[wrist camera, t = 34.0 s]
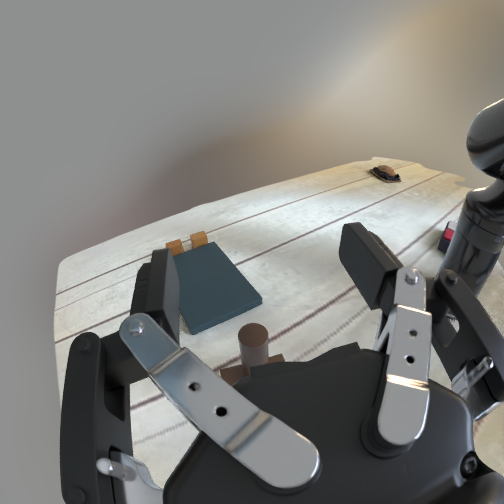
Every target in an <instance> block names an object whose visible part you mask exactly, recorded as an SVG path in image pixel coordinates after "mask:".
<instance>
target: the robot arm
mask: <svg viewBox="0 0 504 504" xmlns="http://www.w3.org/2000/svg"><path fill="white" fill-rule="evenodd" d="M466 144H467V151H468V155H469V158H470V160H471V161H472V163H473V164H474V166H475V167H476V168H477V169H479V170H480V171H481V172H483V173H484V174H486V175H489V176H491V177H494V178H497V179H496V181H495V182H494V183H493V184H491V185H489V186H487V187H484V188H479V189H473V190H470V191H469V192H468V193H467V195H466V197H465V200H464V204H463V207H462V210H461V213H460V216H459V219H458V222H457V225H456V228H455V231H454V234H453V237H452V239H451V242H450V244H449V247H448V249H447V252H446V254H445V257H444V259H443V262H442V264H441V266H440V268H439V271H438V273H437V275H436V277H435V278H425V277H424V276H423V274H422V273H421V272H420V271H418V270H417V269H414V268H412V267H404V266H403V264H402V263H401V262H400V261H399V260H398V258H397V257H396V256H395V255H394V254H393V252H392V251H391V250H389V248H388V247H387V246H386V244H384V242H383V241H382V240H381V239H380V238H379V237H378V236H377V235H375V234H374V233H372V232H371V231H367V229H366V228H365V227H364V226H363V225H362V224H361V223H360V222H356V223H348V224H344V226H343V229H342V235H341V241H340V247H339V258H340V261H341V263H342V264H343V266H344V268H345V269H346V271H347V272H348V274H349V275H350V277H351V278H352V280H353V282H354V283H355V285H356V286H357V288H358V290H359V291H360V293H361V294H362V296H363V298H364V299H365V301H366V302H367V304H368V306H369V307H370V309H371V310H375V309H378V308H381V310H382V312H381V314H380V319H379V324H378V329H377V334H376V338H375V343H374V347H373V350H370V349H360V347H359V345H358V343H357V342H354V343H351V344H347V345H344V346H340V347H337V348H333V349H331V350H329V351H328V352H326V353H324V354H322V355H320V356H318V357H316V358H314V359H313V360H311V361H307V362H273V363H268V364H263V365H258V366H252V367H249V369H250V375H248V376H246V377H244V378H242V379H240V380H238V381H237V382H236V383H234V384H233V385H232V386H230V385H229V384H228V383H226V382H225V381H224V380H223V379H222V378H221V377H219V376H218V375H217V374H216V373H215V372H214V371H212V370H211V369H210V368H209V367H208V366H207V365H206V364H205V363H203V362H202V361H201V360H200V359H199V358H198V357H197V356H196V355H195V354H194V353H192V352H191V351H190V350H189V349H188V348H186V347H184V348H181V347H180V343H179V291H180V287H179V278H178V274H177V270H176V267H175V263H174V260H173V256H172V252H171V250H170V248H166V249H159V250H154V251H153V253H152V259H151V262H150V263H144V264H143V265H142V266H141V268H140V269H139V271H138V273H137V278H136V283H135V290H134V293H133V299H132V305H131V311H130V316H129V317H127V318H126V319H125V320H124V321H123V322H122V323H121V325H120V328H119V331H117V332H115V333H113V334H110V335H108V336H105V337H103V338H99V337H98V336H97V335H96V334H95V333H93V332H85V333H82V334H80V335H79V336H77V337H76V338H75V339H74V340H73V342H72V344H71V346H70V351H69V357H68V362H67V369H66V375H65V383H64V391H63V400H62V411H61V428H60V476H61V489H62V496H63V499H64V501H65V503H66V504H504V477H503V476H502V475H500V474H499V473H497V472H496V471H494V470H492V469H491V468H489V467H488V466H487V465H485V464H484V463H483V462H482V461H481V460H480V459H479V458H478V456H477V454H476V452H475V448H474V441H473V422H474V421H479V420H481V419H482V418H483V417H485V416H486V415H488V414H489V413H491V412H492V411H493V410H495V409H496V408H497V407H499V406H500V405H501V404H503V403H504V338H503V336H502V335H501V333H500V331H499V330H498V328H497V327H496V325H495V324H494V322H493V321H492V319H491V318H490V316H489V315H488V313H487V312H486V310H485V309H484V308H483V306H482V305H481V303H480V302H479V301H478V299H477V297H478V295H479V293H480V291H481V290H482V288H483V286H484V284H485V283H486V281H487V279H488V277H489V275H490V273H491V271H492V270H493V268H494V266H495V264H496V262H497V260H498V257H499V255H500V253H501V251H502V248H503V246H504V99H503V100H501V101H499V102H497V103H495V104H493V105H491V106H489V107H487V108H485V109H483V110H482V111H480V112H479V113H478V114H477V116H476V117H475V118H474V120H473V121H472V123H471V125H470V127H469V130H468V134H467V141H466ZM447 317H449V318H453V319H457V320H458V322H459V331H458V333H457V332H456V330H455V329H454V327H453V325H452V324H451V322H450V321H449V319H448V318H447ZM431 343H432V345H433V347H434V349H435V351H436V352H437V354H438V356H439V358H440V360H441V362H442V364H443V366H444V368H445V370H446V372H447V374H448V376H449V378H450V380H451V382H452V384H451V387H452V390H449V389H448V388H446V387H444V386H442V385H440V384H438V383H437V382H435V381H433V380H431V379H429V378H428V377H429V367H430V354H431ZM147 377H149V378H150V379H151V380H152V382H153V383H154V384H155V385H156V386H157V388H158V389H159V390H160V391H161V392H162V393H163V394H164V395H165V397H166V398H167V399H168V400H169V401H170V402H171V403H172V404H173V405H174V406H175V408H176V409H177V410H178V411H179V412H180V413H181V414H182V415H183V416H184V417H185V418H186V419H187V420H188V421H189V422H190V423H191V424H192V425H193V426H194V427H195V428H196V429H197V430H198V431H199V434H198V435H197V437H196V438H195V440H194V441H193V443H192V444H191V446H190V447H189V449H188V450H187V452H186V453H185V455H184V456H183V458H182V459H181V461H180V462H179V464H178V465H177V466H176V468H175V469H174V471H173V472H172V474H171V475H170V477H169V478H168V480H167V481H166V483H165V486H164V489H162V488H160V487H159V486H157V485H156V484H155V483H154V481H153V480H152V478H151V476H150V472H149V470H148V468H147V467H146V465H145V464H144V463H143V462H141V461H140V460H138V459H136V458H134V457H133V448H132V436H131V419H130V384H131V383H134V382H137V381H139V380H142V379H145V378H147Z"/></svg>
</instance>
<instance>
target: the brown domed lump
mask: <svg viewBox="0 0 504 504" xmlns="http://www.w3.org/2000/svg"><path fill="white" fill-rule="evenodd" d="M370 171H371V172H372V173H373V174H374V175H376V176H377V177H379V178H380V179H382V180H383V181H385V182H386V183H387V182H388V183H389V182H392V183H393V182H401V180H400V179H399V174H397V175H396V173H395V172H394V170H393V169H392V168H391V167H389V166H386V165H383V166H378V168H377V167H374V168H373V169H370Z"/></svg>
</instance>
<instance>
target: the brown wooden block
mask: <svg viewBox="0 0 504 504" xmlns="http://www.w3.org/2000/svg"><path fill="white" fill-rule="evenodd" d="M190 238H191V243H192V247H193V249H195V248H197V247H200V246H203V245H206V244H208V239H207V235H206V233H205V232H204V231H202V232H198V233H195V234H192V235H190Z"/></svg>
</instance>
